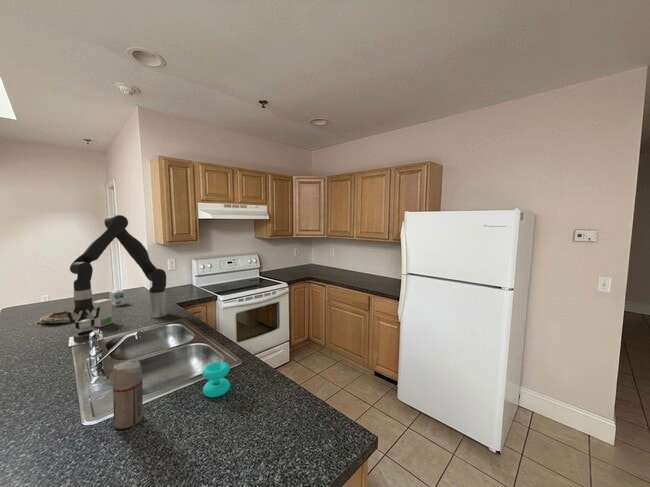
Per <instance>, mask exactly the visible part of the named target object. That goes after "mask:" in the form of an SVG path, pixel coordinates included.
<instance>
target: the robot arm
mask: <svg viewBox="0 0 650 487" xmlns="http://www.w3.org/2000/svg"><path fill="white" fill-rule="evenodd" d="M103 223H104V226H105V227H106V230H105V231H104V232H103V233H102V234H101V235H100V236H98V237H97V238H96V239H95V240H94V241H92V242H91V243H90V244H89V246H88V247H86V249H85V251H84V252H83V253H82V254H81V255H80V256H78V257H77V258H76V259H75V260H73V262H72V263H71V264H70V265H69V266H70V267H69V271H70V272H71V273H72V274H75V275H77V277H76V279H75V280H73V304H74V306H73V307H74V308H73V309H74V310H73V309H72V310H73V311H68V312H67V314H68V317H69V320H70V322H69V323H74V326H75V329H77V330H79V320H80V319H81V318H80V316H82V317H85V316H89V317H90V319H91V325H92V327H94V326H93V325H94V324H95V321H94V319H95V318H98V316H99V311H100V307H99V306H98V307H94V306H93V302H94V301H93V291H92V286H91V285H92V283H91V280H92V277H93V274H94V273H93V272H94V271H93V270H94V269H93V268H94V267H93V266H92V264H91V263H92V262H95V261H97V260H98V259H99V258H100V257H101V255H102V254H103V253H104V251H105V250H106V249H107V248H108V246H109V245H110V244H111V243H112V242H113V241H114V239H117V240H118V242H119V243H120V244H121V245H122V247H123V248H124V249H125V250H126V252H127V253H128V255H129V256H130V257H131V258H132V259H133V261H134V262H135V263H136V264H137V265H138V266H139V268H140V269H141V271H142V273H143V274H144V275H145V277H146V278H147V280H149V282H151V287H149V293H148V294H149V311H150V318H153V319H158V318H163V317H166V316H167V315H168V311H167V307H168V306H167V301H166V287H167V273H166V271H165V270H164V269H161V268H157V267H156V266H155V265H154V263H152V261H151V260H150V255H149V252H148V250H147V249H146V248H145V246H144V245H143V244H142V242H141V241H140V240H138V239H137V238H135V237H134V236H133V235H132V234H130V233H129V231H128V230H127V229H126V228H127V227H128V226H129V220H128V218H127V217H126V216H124V215H120V214H116V215H115V214H113V215H108V216H106V217H105V219H104V222H103ZM93 309H95V311H96V315H95V316H93V315H92V311H93ZM73 312H75V313H76V314H77V317H76V319H73V317H72V315H73ZM79 318H80V319H79Z"/></svg>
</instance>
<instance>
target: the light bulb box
mask: <svg viewBox="0 0 650 487" xmlns="http://www.w3.org/2000/svg"><path fill="white" fill-rule="evenodd" d="M108 296H109V298H108V299H111V306H114V307H119V306H123V305H126V302H125V300H126V298H125V291H124V290H121V289H119V288H118V289H112V290H109V291H108Z"/></svg>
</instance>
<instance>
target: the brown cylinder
mask: <svg viewBox="0 0 650 487" xmlns="http://www.w3.org/2000/svg"><path fill="white" fill-rule="evenodd" d="M142 368H143V367H142V364H141V362H140V361H138V360H135V359H129V360H126V361H123V362H119V363H116V364H114V365H113V369H112V393H113V397H112V398H113V399H112V400H113V401H112V402H113V428H114V429H116V430H122V429H123V430H125V429H130V428H133V427H134V426H136V425H138V424H139V423H141V421H142V420H143V414H144V412H143V410H144V409H143V408H144V407H143V406H144V405H143V404H144V402H143V369H142Z"/></svg>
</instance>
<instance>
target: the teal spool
mask: <svg viewBox="0 0 650 487" xmlns="http://www.w3.org/2000/svg"><path fill="white" fill-rule="evenodd" d="M230 369H231V367H230V364H228V362H226V361H215V362H214V361H213V362H211V363H209V364H207V365H205V367H204V368H203V369H202V372H201V374H202V376H203V378H204V379H206V380H208V381H207V382H206V383H205V384H204V386H203V387H202V392H203V395H204V396H206V397H207V398H218V397H221V396H223V395H225V394H226V393H227V392H229V389H230V388H231V383H230V380H229V379H227V378H226V376H227V375H228V374H229V372H230Z"/></svg>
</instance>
